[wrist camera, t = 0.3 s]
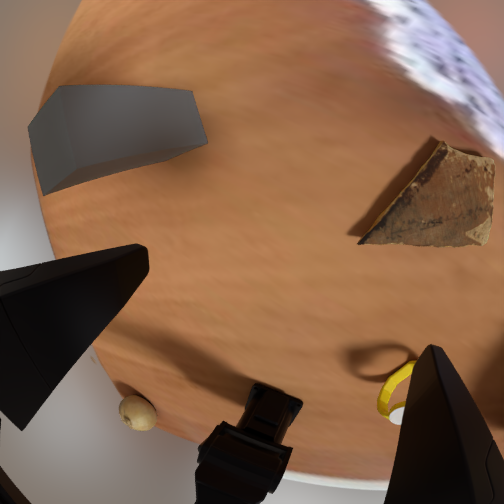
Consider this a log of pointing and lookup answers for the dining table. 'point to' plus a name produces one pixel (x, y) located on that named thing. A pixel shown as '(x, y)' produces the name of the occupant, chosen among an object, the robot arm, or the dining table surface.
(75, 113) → the slate block
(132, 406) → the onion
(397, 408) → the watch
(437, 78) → the dining table surface
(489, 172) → the shard
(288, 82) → the dining table surface
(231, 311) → the dining table surface
